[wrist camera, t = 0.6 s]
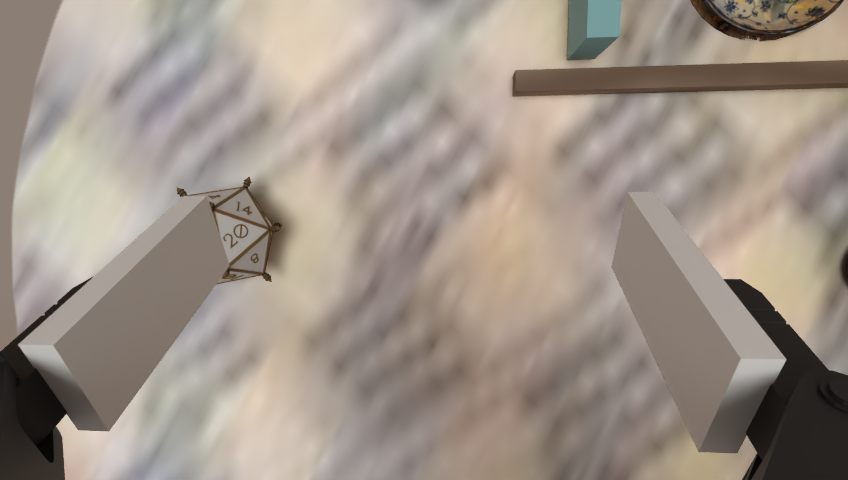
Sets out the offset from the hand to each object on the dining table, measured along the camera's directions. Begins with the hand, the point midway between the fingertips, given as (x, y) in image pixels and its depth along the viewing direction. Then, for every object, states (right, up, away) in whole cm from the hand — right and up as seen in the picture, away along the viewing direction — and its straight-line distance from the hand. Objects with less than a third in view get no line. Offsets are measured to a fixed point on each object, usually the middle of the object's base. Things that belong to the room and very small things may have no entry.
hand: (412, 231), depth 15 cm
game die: (-15, +1, +25) cm, 29 cm away
